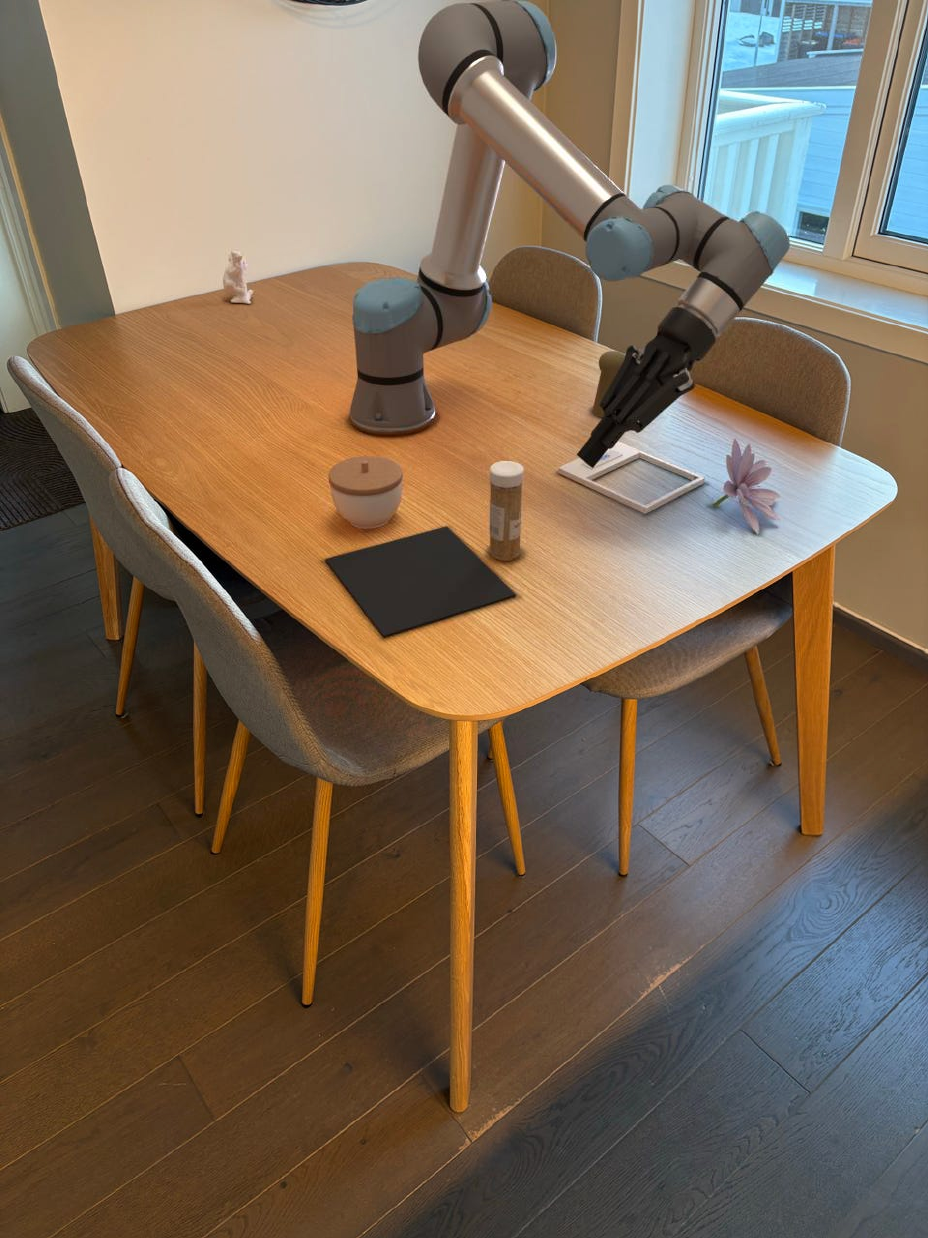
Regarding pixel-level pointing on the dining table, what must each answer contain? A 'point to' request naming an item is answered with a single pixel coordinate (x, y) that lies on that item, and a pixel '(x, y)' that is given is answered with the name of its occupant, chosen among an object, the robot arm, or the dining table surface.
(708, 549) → the dining table surface
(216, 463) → the dining table surface
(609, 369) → the brown game pawn
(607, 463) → the photo frame
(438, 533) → the mat
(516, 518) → the sprinkles bottle
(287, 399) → the dining table surface
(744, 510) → the water lily
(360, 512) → the trinket box
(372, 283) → the robot arm
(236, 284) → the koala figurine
